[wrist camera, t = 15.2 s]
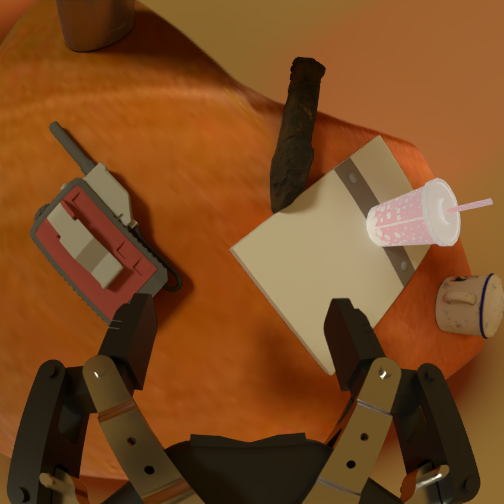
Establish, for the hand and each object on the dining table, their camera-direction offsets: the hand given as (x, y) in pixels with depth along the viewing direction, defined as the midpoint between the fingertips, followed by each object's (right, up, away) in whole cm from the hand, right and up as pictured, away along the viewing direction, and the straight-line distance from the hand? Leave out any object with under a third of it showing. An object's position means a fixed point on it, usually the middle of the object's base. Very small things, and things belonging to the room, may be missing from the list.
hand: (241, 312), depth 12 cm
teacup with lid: (+29, -5, +21) cm, 37 cm away
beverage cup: (+15, +6, +16) cm, 22 cm away
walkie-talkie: (-14, +5, +8) cm, 17 cm away
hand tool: (+5, +15, +15) cm, 22 cm away
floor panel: (+12, +4, +16) cm, 21 cm away
